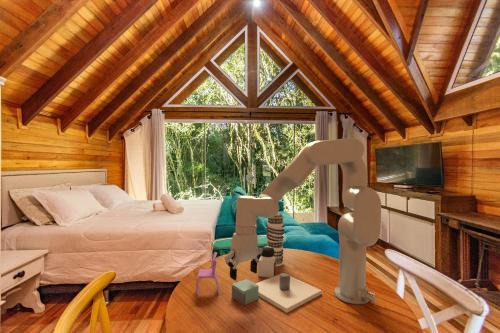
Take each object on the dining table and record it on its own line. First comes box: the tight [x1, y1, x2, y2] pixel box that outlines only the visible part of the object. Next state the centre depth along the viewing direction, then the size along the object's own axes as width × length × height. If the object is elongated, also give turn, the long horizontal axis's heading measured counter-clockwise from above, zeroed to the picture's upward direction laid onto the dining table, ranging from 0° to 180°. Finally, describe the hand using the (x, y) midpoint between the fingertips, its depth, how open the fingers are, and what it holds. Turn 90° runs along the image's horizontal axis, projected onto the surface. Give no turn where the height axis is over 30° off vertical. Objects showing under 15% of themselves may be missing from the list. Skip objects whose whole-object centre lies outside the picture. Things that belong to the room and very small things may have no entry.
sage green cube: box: [231, 278, 259, 306], centre depth 97 cm, size 7×7×5 cm
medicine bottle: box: [257, 245, 277, 279], centre depth 118 cm, size 7×7×12 cm
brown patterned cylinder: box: [265, 212, 286, 267], centre depth 131 cm, size 9×9×25 cm
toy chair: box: [195, 251, 220, 297], centre depth 102 cm, size 8×9×15 cm
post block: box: [254, 272, 322, 314], centre depth 102 cm, size 20×20×6 cm
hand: (243, 275), depth 97 cm, fingers open, 9 cm apart
